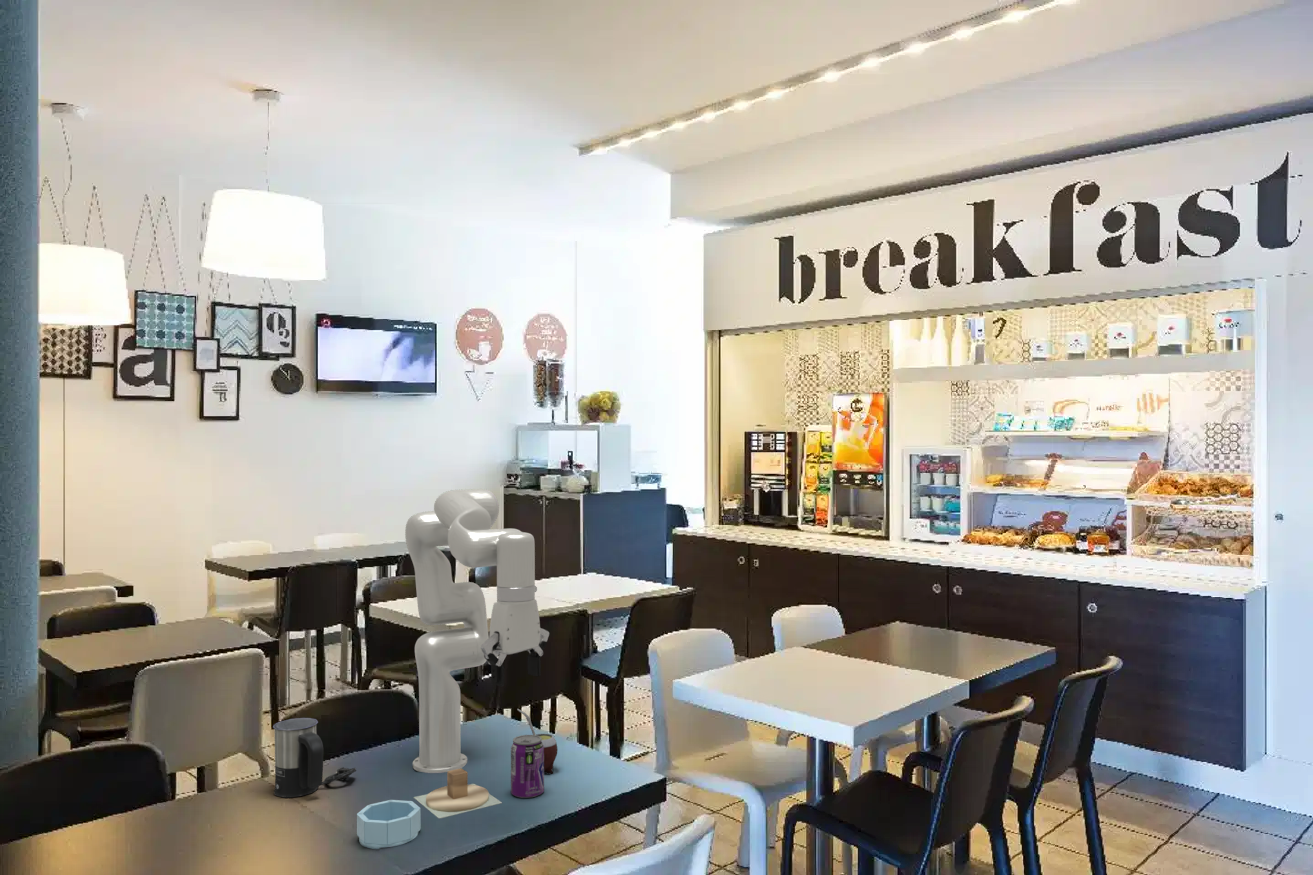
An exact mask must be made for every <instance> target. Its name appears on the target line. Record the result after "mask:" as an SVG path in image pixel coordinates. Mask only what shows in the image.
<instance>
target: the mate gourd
mask: <svg viewBox="0 0 1313 875" xmlns="http://www.w3.org/2000/svg"><path fill="white" fill-rule="evenodd" d="M516 710H517V711H518V712H519V713H521V714H522V715H523V716H524V717H525V719H526V721H527V722H528V725H529V728H530V730H531V733H532V735H537V736H540V737H541V738H542V741H541V742H542V744H543V746H544V774H547V773H548V775H554V770H553V768H554V763H555V760H556V758H557V754H558V744H557V740H556V738H555V737H554V735H552V734H549V733H538V734H536V732H535V729H534V727H533V724H532V721H531V717H530V716H529V715H528V714H527V713H526V711H525V712H524V711H523V710H521V709H519V708H517V709H516Z"/></svg>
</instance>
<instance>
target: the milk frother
mask: <svg viewBox="0 0 1313 875" xmlns="http://www.w3.org/2000/svg"><path fill="white" fill-rule="evenodd" d="M318 723H319V721H318V720H317V719H316V718H311V717H300V718H299V717H298V718H289V719H285V720H281V721H279V722H276V723H274V724H273V726H272V728H273V729H274V765H275V766H274V771H275V773H274V776H275V777H274V780H275V781H274V790H273V794H274V795H275V796H276V797H279V798H280V797H281V798H297V797H301V796H302V797H303V796H306V795H310V794H312V793H314V792H316V791H317V790H318V789H319V787H320V786H324V785H326V784H329V783H331V782H335V781H337V780H340V781H343V780H345V779H347V778H348V777H349V776H350V775H352V774H354V773H355V772H356V771H357V768H356V767H353V768H347V767H344V766H343V767H340V768H338V769H337V770H336V771H335V773H333V774H331V775H329V776H326V778H325V779H323V778H324V777H323V773H324V772H323V771H324V743H323V741H322V739H321V737H320V736H319V735H318V733H317V724H318Z"/></svg>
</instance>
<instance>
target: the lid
mask: <svg viewBox="0 0 1313 875" xmlns="http://www.w3.org/2000/svg"><path fill="white" fill-rule="evenodd" d="M446 773H447V774H446V776H447V780H446V781H447V782H446V783H447V785H445V786H441V787H439V788H436V789H433V790H432V791H431V792H429V793H427V794H428V795H427V796H426V805H427V806H428V807H429V808H431V809H433V810H436V811H442V812H459V811H466V810H471V809H474V808H477V807H480V806H482V805H483V804H485V803H486V802H487V801H488V799H489V794H490V793H489V790H488V789H487V788H485V787H483V786H481V785H477V784H476V785H470V784H468V783H469V782H468V781H469V780H468V779H469V778H468V775H469V774H468V772H467V771H466V770H464V769H463V767H462V768H460V769H455V770H451V771H447V772H446Z"/></svg>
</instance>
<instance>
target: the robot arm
mask: <svg viewBox="0 0 1313 875" xmlns="http://www.w3.org/2000/svg"><path fill="white" fill-rule="evenodd" d="M499 514H500V505H499V501H498V499H497V496H496V495H495V494H494V493H493V491H491V490H489V489H487V488H486V489H485V488H473V489H471V488H470V489H451V490H447V491H445V492H443V493H441V494H440V495H438V496H437V498H436V500H435V501H434V505H433V510H430V511H429V510H428V511H422V512H418V513H415V514H412V515H411V516H409V518H408V519H407V521H406V525H405V534H404V535H405V544H406V547H407V551H408V553H409V556H410V559H411V561H412V564H413V568H414V569H413V570H414V575H415V576H414V578H415V588H416V602H417V611H418V616H419V619H420V622H421V623H423V624H424V625H427V626H438V625H440V626H441V625H447V624H458V623H459V624H460V623H462V624H463V626H464V627H460V628H450V629H441V630H435V631H434V630H433V631H430V632H427V633H424V634H422V635H421V636H419V637H418V638H417V640H416V642H415V644H414V656H415V663H416V668H417V669H416V670H417V675H418V676H417V677H418V696H419V697H418V701H419V704H418V705H419V706H418V707H419V710H418V711H419V713H418V715H419V717H418V719H419V720H418V722H419V723H418V725H419V726H418V727H419V728H418V729H419V730H418V731H419V737H418V739H419V740H418V741H419V742H418V743H419V745H418V746H419V748H418V749H419V753H418V754H419V755H418V756H417V757H416V758H415V759H414V760H413V761H412V769H414V770H415V771H417V772H420V773H426V774H441V773H447V771H451V770H455V769H460V768H462V769H463V768H464V767H465V766H466V765H467V764H468V757H467V755H465V754H464V753H461V752H462V751H461V744H462V743H461V742H462V741H461V689H460V685H459V683H458V682H457V681H456V680H455V678H454V677H453V676H452V675H451V672H452V671H453V672H454V671H456V670H461V669H468V668H475V667H480V666H483V665H484V664H485V663H486V662H487V663H488V665H490V678H491V679H490V684H491V685H493V686H499V687H504V686H505V665H503V663H504V660H505V659H506V657H507V655H513V654H518V653H521V652H526V651H527V652H528V653H529V654H527V674H528V676H534V677H541V673H542V672H541V669H542V666H541V665H542V664H541V657H542V656H543V655H544V650H545V648H546V647H547V642H548V639H549V636H550V632H549V631H548V630H547V629H544V628H541V621H540V614H539V612H540V611H539V606H538V601H537V599H536V592H537V591H538V587H537V586H536V585H535V584H536V577H535V576H536V573H535V572H536V571H535V569H536V565H535V564H536V563H535V562H536V561H535V560H536V559H535V558H536V557H535V556H536V552H535V551H536V550H535V547H536V545H535V543H536V542H535V538H534V535H533V534H531V533H529V532H524V531H521V530H520V529H517V528H492V526H493V525H494V524H495V523H496V521H497V519H498V517H499ZM491 528H492V529H491ZM438 547H449V551H450V554H451V555H452V556H453V557H454V559H456V560H457V562H459V564H461V565H463V566H464V567H467V568H482V567H493V566H496V602H493V605H492V609H491V617H490V624H488V615H487V605H486V604H487V603H486V598H485V594H484V592H483V590H482V588H481V587H480V585H478V584H477V583H474V582H472V581H471V582H470V581H463V582H454V581H453V575H452V566H451V563H450V560H449V559H448V558H447V556H446V555H445V554H444V553H443V551H442V550H441V549H439V548H438ZM488 625H489V628H488Z"/></svg>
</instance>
